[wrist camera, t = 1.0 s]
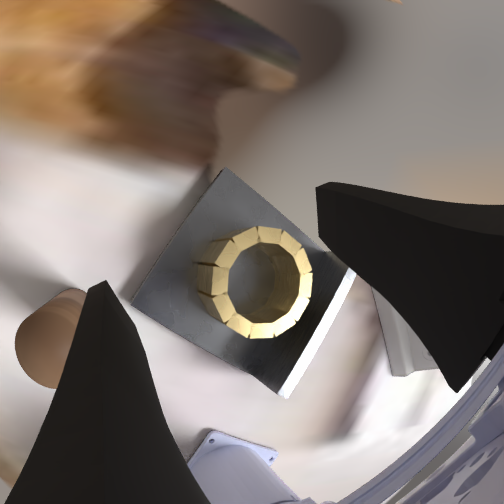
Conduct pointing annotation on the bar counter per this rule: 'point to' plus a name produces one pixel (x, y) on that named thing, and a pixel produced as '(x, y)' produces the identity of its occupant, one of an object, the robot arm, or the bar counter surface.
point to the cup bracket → (246, 285)
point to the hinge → (401, 341)
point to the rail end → (49, 337)
